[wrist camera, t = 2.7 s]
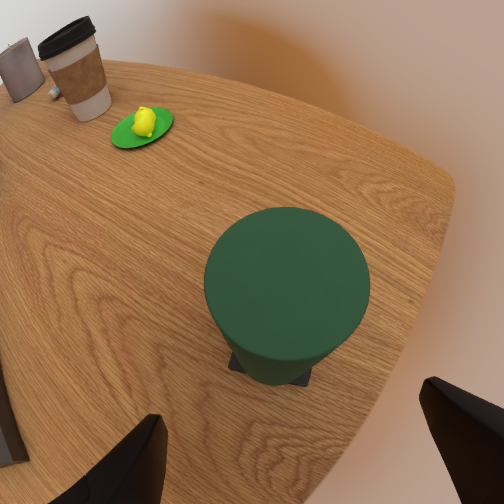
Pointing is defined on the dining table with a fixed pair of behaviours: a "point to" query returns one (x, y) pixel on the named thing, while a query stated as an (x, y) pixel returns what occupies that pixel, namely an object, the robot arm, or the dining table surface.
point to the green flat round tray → (141, 127)
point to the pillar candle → (20, 70)
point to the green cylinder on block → (285, 292)
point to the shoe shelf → (9, 433)
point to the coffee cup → (77, 68)
